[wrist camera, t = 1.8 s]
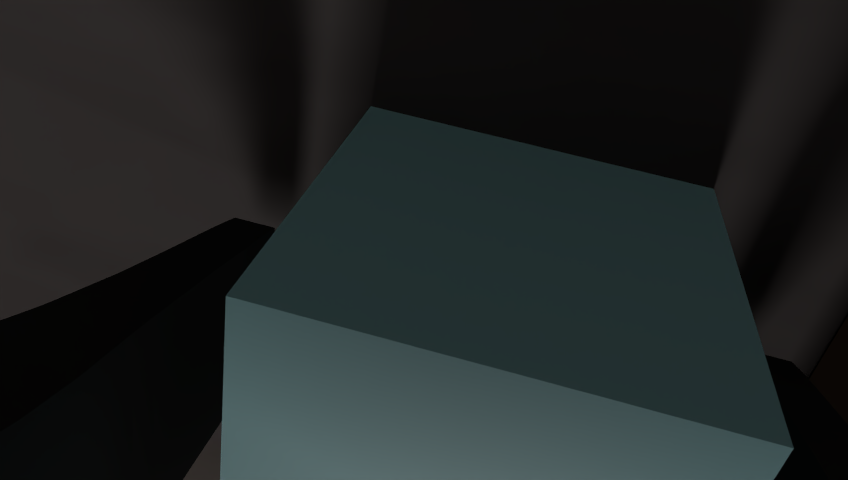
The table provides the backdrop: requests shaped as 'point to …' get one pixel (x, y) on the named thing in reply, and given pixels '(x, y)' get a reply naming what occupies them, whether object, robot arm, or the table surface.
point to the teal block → (494, 323)
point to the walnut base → (834, 373)
